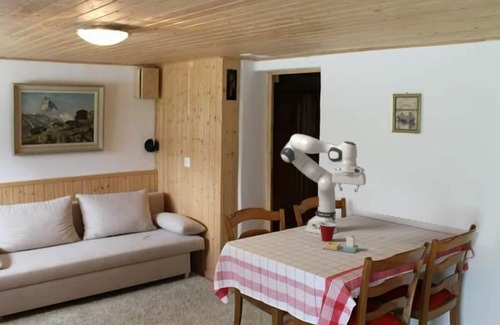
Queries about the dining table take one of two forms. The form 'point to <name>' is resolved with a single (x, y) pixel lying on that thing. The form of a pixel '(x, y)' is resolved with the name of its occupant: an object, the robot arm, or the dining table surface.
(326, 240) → the plastic cup
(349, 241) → the plug
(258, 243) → the dining table surface
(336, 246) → the panel
